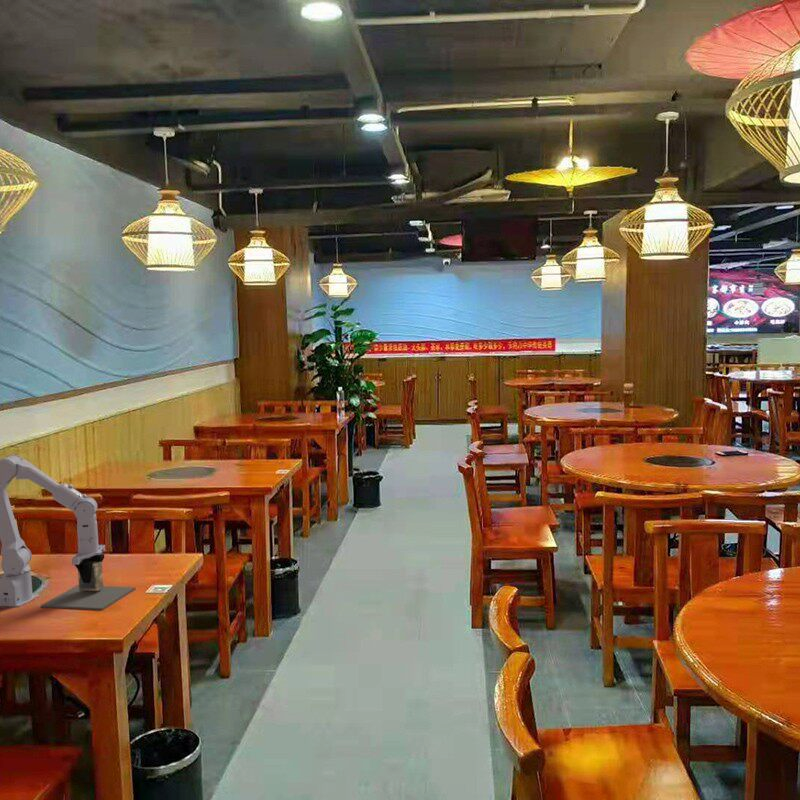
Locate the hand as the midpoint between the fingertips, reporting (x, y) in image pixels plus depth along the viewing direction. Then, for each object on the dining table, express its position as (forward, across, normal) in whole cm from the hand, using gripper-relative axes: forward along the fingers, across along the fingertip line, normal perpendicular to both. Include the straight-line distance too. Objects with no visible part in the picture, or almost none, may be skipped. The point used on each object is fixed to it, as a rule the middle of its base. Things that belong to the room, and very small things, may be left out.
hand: (90, 580), depth 233 cm
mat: (+4, -4, -2) cm, 6 cm away
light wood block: (+3, 0, 0) cm, 3 cm away
